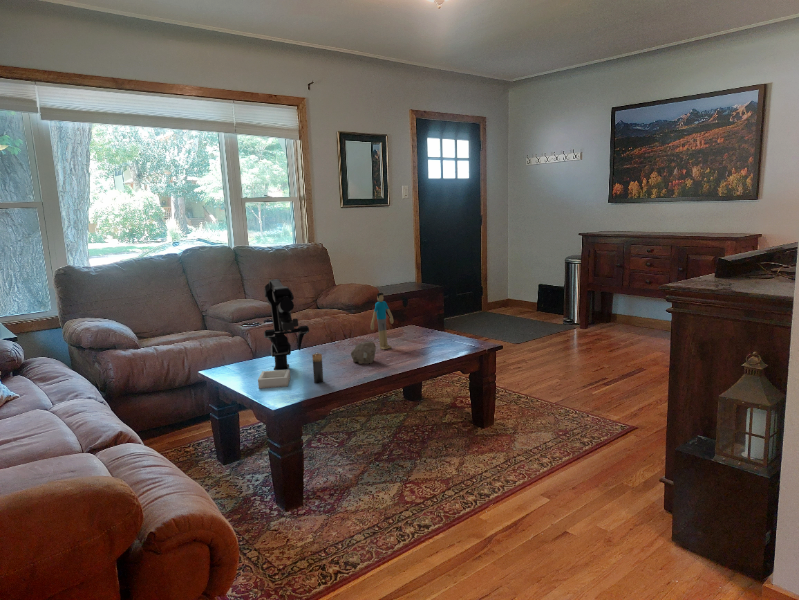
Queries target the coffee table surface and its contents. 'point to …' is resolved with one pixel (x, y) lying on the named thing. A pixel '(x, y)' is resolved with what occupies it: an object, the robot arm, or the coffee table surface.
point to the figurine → (381, 320)
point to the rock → (364, 353)
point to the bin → (274, 379)
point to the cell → (317, 367)
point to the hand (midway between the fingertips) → (288, 351)
